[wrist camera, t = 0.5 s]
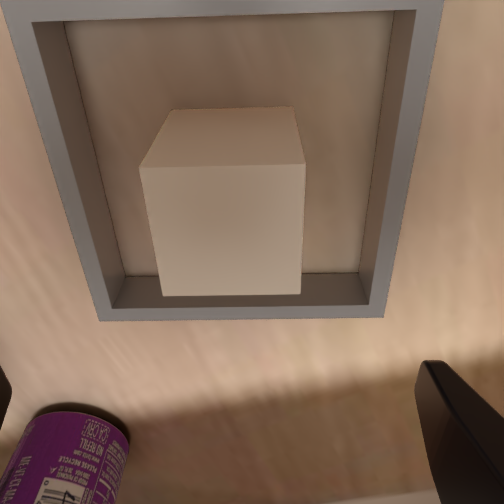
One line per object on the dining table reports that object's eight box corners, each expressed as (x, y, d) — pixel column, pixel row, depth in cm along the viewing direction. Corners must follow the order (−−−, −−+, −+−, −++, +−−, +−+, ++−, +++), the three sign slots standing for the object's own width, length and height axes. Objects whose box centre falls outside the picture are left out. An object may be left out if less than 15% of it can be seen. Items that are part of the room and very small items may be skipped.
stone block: (292, 106, 18) (306, 164, 13) (290, 212, 21) (300, 294, 16) (171, 109, 18) (138, 167, 13) (185, 214, 21) (162, 296, 16)
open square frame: (422, -25, 15) (448, -22, 13) (372, 284, 23) (383, 317, 21) (32, -12, 15) (-3, -7, 13) (113, 288, 23) (99, 321, 21)
